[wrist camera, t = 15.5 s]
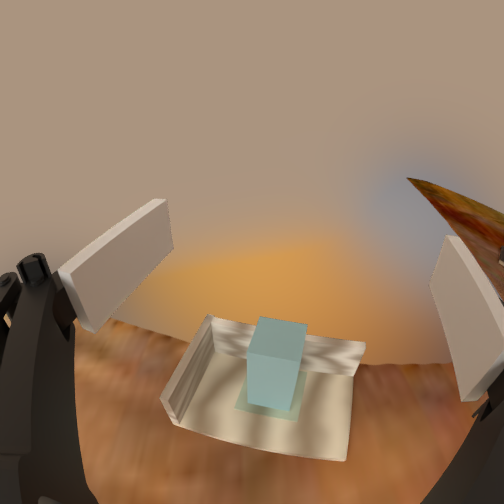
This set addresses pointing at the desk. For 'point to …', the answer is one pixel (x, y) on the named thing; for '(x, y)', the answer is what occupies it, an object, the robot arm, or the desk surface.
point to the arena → (259, 417)
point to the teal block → (274, 362)
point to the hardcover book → (502, 256)
